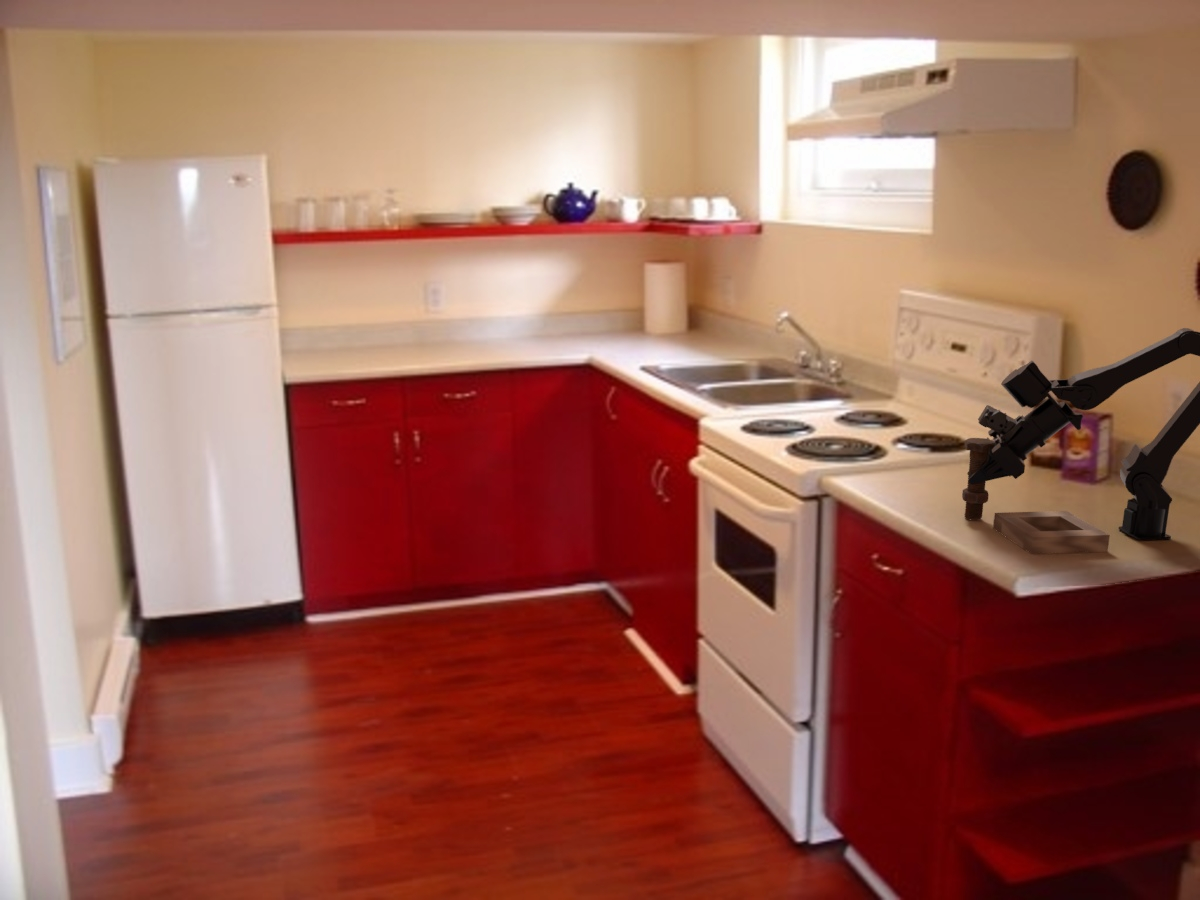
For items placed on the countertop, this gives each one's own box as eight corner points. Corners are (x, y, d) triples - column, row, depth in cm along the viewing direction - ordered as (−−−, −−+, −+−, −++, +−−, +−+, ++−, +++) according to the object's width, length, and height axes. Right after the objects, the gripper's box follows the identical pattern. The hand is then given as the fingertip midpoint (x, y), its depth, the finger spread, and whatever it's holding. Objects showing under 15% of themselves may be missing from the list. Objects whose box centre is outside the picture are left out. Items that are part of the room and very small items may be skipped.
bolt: (989, 524, 212) (997, 445, 209) (961, 522, 213) (968, 443, 209) (984, 515, 218) (992, 438, 214) (957, 513, 219) (964, 436, 215)
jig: (1064, 526, 212) (1066, 510, 211) (1107, 551, 198) (1109, 534, 198) (993, 528, 210) (994, 512, 209) (1031, 554, 196) (1033, 537, 196)
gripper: (1005, 383, 217) (939, 435, 223) (1011, 402, 200) (940, 459, 205) (1045, 427, 217) (978, 478, 223) (1054, 450, 200) (982, 505, 205)
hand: (969, 479), depth 214 cm, fingers closed on bolt, 5 cm apart
